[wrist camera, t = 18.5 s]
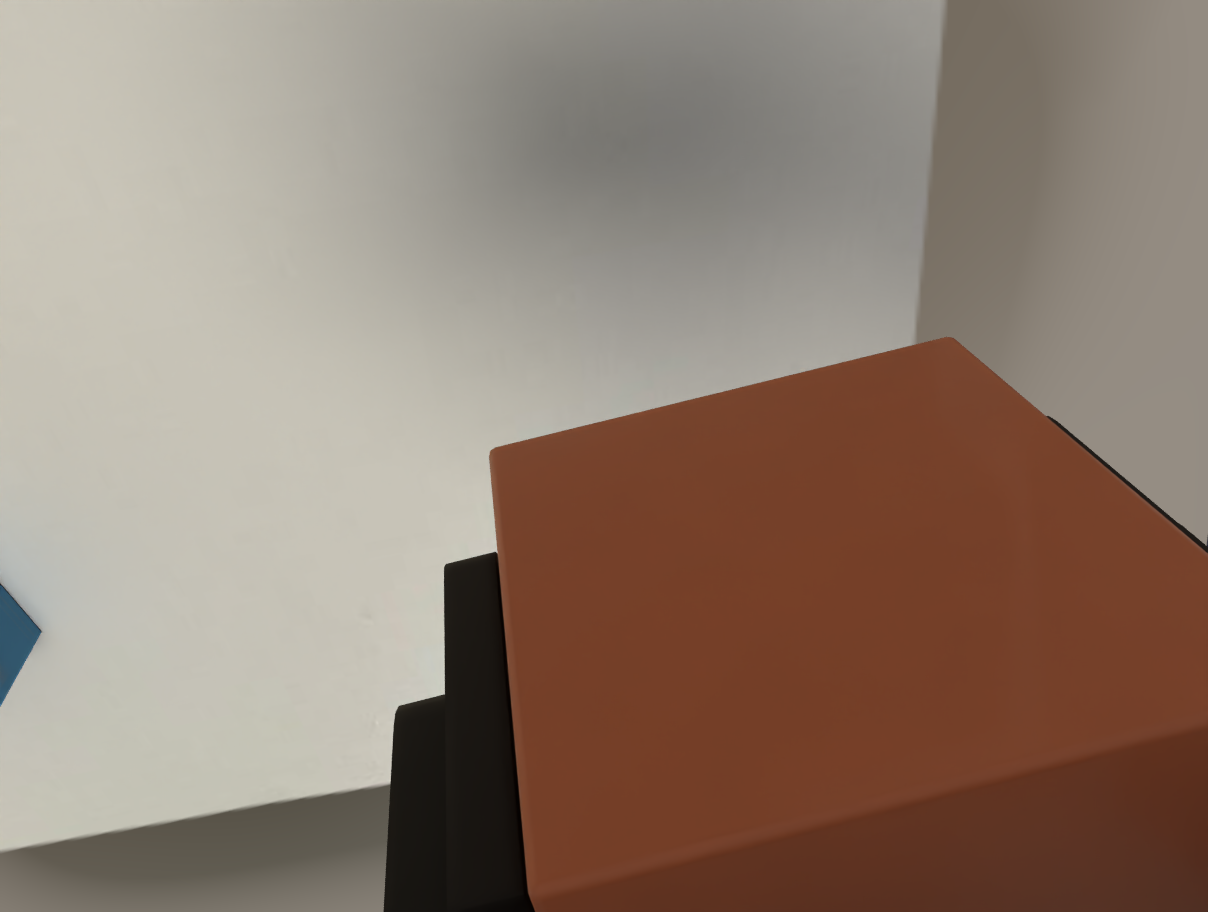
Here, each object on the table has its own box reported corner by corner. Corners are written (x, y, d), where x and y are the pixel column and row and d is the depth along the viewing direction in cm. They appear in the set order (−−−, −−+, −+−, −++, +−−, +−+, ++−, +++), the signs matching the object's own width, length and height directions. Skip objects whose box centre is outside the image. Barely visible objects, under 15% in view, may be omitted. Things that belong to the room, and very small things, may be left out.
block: (952, 331, 10) (1366, 680, 5) (952, 673, 12) (1234, 1097, 8) (486, 445, 9) (524, 897, 5) (584, 767, 12) (665, 1253, 8)
